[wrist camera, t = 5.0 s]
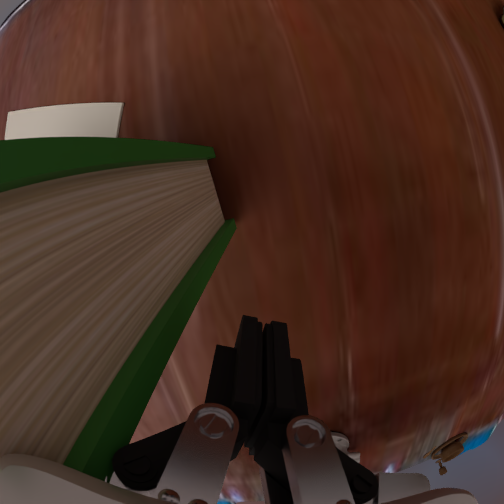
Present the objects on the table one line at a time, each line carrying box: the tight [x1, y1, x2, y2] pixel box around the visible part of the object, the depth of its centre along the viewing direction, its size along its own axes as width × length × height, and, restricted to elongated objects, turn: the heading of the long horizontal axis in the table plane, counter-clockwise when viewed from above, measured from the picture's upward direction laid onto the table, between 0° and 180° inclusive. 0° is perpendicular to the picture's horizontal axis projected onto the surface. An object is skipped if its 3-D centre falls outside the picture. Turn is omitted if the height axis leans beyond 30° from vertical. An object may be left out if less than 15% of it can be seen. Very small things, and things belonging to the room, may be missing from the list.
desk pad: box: [5, 103, 124, 140], centre depth 25 cm, size 20×22×1 cm
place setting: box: [423, 433, 468, 475], centre depth 43 cm, size 18×20×6 cm
